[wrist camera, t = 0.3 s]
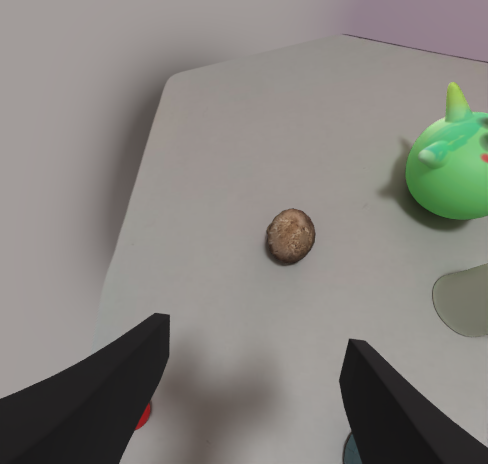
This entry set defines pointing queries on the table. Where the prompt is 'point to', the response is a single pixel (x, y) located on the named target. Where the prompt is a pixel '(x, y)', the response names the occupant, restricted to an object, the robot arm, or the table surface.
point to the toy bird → (452, 162)
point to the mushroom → (291, 235)
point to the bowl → (351, 452)
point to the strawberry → (144, 417)
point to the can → (464, 301)
